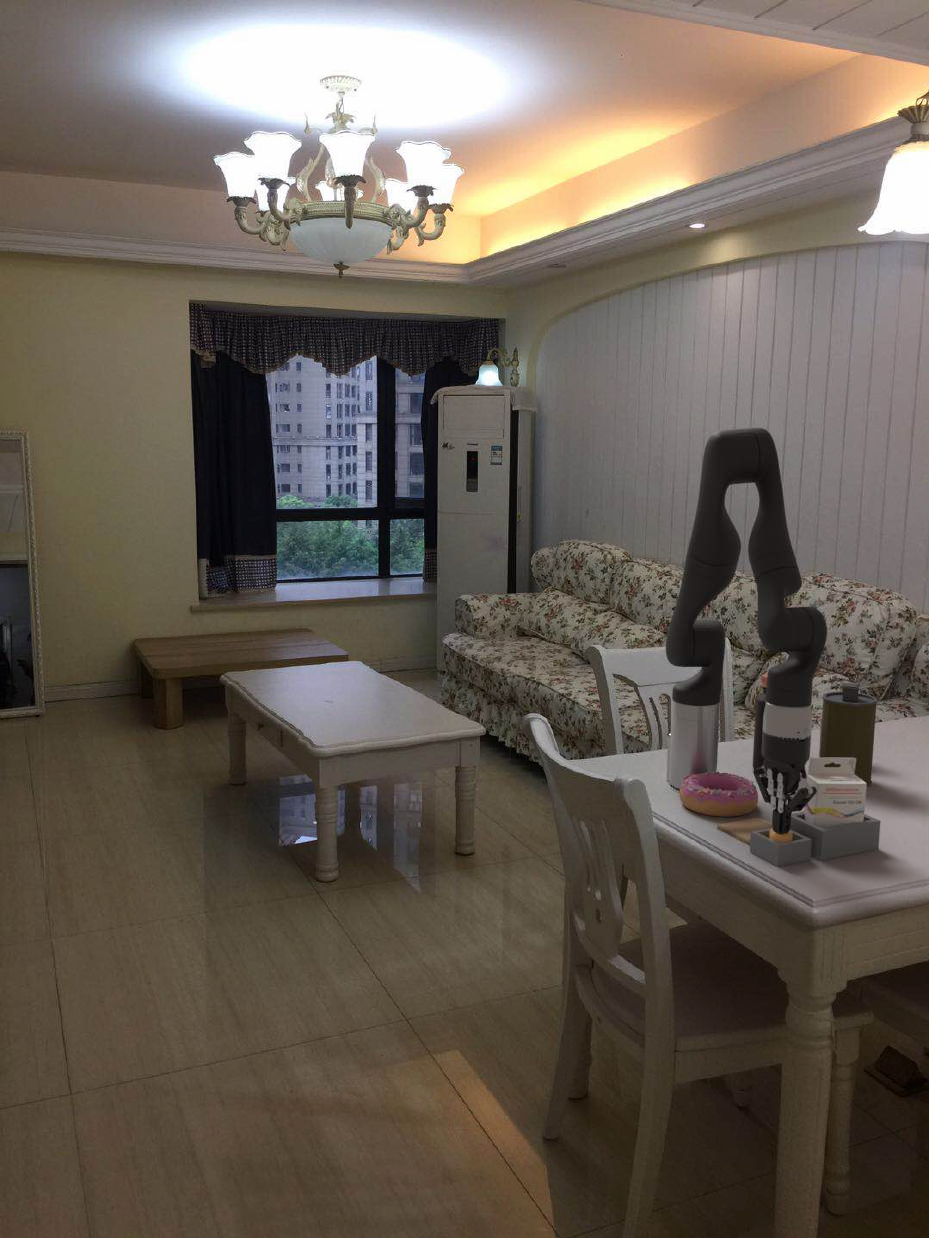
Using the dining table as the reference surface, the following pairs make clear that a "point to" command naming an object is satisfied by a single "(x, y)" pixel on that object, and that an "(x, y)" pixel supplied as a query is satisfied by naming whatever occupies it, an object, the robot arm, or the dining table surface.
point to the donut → (718, 794)
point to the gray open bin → (838, 837)
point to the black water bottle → (759, 725)
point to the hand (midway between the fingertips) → (781, 832)
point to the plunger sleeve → (780, 848)
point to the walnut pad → (744, 828)
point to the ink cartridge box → (835, 793)
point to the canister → (849, 728)
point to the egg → (780, 836)
